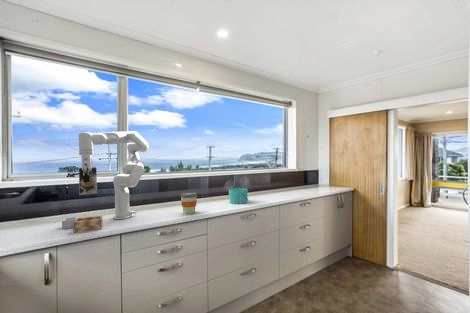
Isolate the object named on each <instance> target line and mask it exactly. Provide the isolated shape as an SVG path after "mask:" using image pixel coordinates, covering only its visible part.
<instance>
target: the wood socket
mask: <svg viewBox="0 0 470 313" xmlns="http://www.w3.org/2000/svg"><path fill="white" fill-rule="evenodd" d="M103 225H104V224H103V215H102V214H101V215H95V216H94V215H93V216H86V217H85V216H84V217H83V216H82V217H78V218H76V220H75V221H74V228H73V234H75V233H83V232H90V231H97V230H102V228H103Z"/></svg>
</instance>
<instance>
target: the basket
mask: <svg viewBox="0 0 470 313" xmlns="http://www.w3.org/2000/svg"><path fill="white" fill-rule="evenodd" d="M248 192H249V190H248V188H245V187H243V188H241V187H238V188H237V187H234V188H232V187H231V188H228V196H229V197H228V198H229V200H228V201H229V204H232V205H243V204H247V203H248V201H249V198H248V194H249V193H248Z"/></svg>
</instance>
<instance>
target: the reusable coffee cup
mask: <svg viewBox="0 0 470 313" xmlns="http://www.w3.org/2000/svg"><path fill="white" fill-rule="evenodd" d="M197 197H198V194H197V192H196V191H195V192H194V191H190V192H189V191H187V192H181V193H180V198H181V200H180V201H181V202H180V203H181V207H182V212H183V213H182V214H186V215H187V214H189V215H190V214H194V213H196V206H197V200H198V199H197Z"/></svg>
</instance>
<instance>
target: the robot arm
mask: <svg viewBox="0 0 470 313" xmlns="http://www.w3.org/2000/svg"><path fill="white" fill-rule="evenodd" d="M118 144H119V145H120V144H127V146H126V148H127V149H126V150H127V151H128V158H127V159H126V161H125V163H124V164H123V166H122V167H121V172H122V173H119V174H116V175H115V176H114V177H113V180H112V183H113V187H114V207H115V208H114V215H113V216H112V219H114V220H125V219H130V218H132V217H133V215H132V214H135V215H136V214H137V210H131V209H130V190H129V188H135V187H136V186H137V185H138V183H139V181H140V180H141V178H142V176H143V174H144V171H145V166H144V164H143V163H142V162H141V161H140V159H141V158H140V156H139V153H144V152H147V151H148V150H149V143H148V142H147V141H146V140H145V139H144V137H143V136H142V135H141V134H140V133H138V132H137V131H136V130H135V131H134V130H133V131H112V132H111V131H110V132H97V133H96V132H94V133H91V132H83V131H82V132H79V133H78V154H79V155H78V156H81V157H80V159H81V168H82V171H83V169H84V171H83V182H90V175H89V170H90V171H92V168H93V166H94V164H93V156H94V155H95V154H94V150H95V149H94V146H101V145H118ZM87 168H88V170H87Z"/></svg>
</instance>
